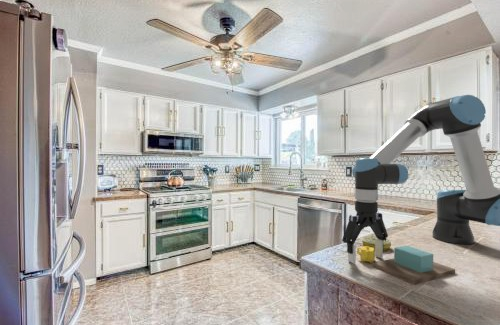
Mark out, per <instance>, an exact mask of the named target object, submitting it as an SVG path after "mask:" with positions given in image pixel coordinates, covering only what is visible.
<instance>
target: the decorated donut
mask: <svg viewBox="0 0 500 325" xmlns="http://www.w3.org/2000/svg"><path fill="white" fill-rule="evenodd" d="M376 238H377V237H376V235H375V236H373V235H372V236H364V237H362V239H361V242H362V245H363V246H369V247H372V248H374V251H375V239H376ZM377 239H378V238H377ZM391 246H392V242H391V240H389V239H387V238H386V241H385V240H383V251H388V250H389V249H390V248H391Z"/></svg>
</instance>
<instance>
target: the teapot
mask: <svg viewBox="0 0 500 325" xmlns="http://www.w3.org/2000/svg"><path fill="white" fill-rule="evenodd" d="M356 254H358V256H359V257H360V261H361V262H368V263H369V264H373V263H374V262H375V259H376V258H375V257H376V256H375V250H374V248H372V247H369V246H364V245H363V246H362V247H357V248H356Z"/></svg>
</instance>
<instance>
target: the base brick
mask: <svg viewBox="0 0 500 325" xmlns="http://www.w3.org/2000/svg"><path fill="white" fill-rule="evenodd" d="M393 251H394V254H393V255H394V257H393V258H394V262H395V263H397V264H400V265H402V266H405V267H407V268H410V269H412V270H415V271H417V272H420V273H423V272H426V271H430V270H433V262H434V253H431V252H428V251H425V250H422V249H418V248H415V247H412V246H409V245H402V246H397V247H394V250H393Z"/></svg>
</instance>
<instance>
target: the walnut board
mask: <svg viewBox="0 0 500 325" xmlns="http://www.w3.org/2000/svg"><path fill="white" fill-rule="evenodd" d="M372 264H373V265H372V266H373V267H375V268H376V269H379V270H381V271H383V272H385V273H387V274H390V275H393V276H394V277H397V278H398V279H401V280H402V281H405V282H408V283H410V284H412V285H417V284H420V283H424V282H425V283H426V282H428V281H432V280H436V279H439V278H442V277H445V276H449V275H453V274H455V273H456V269H455V268H453V267H450V266H447V265H444V264H441V263H438V262H435V261H433V270H430V271H426V272H423V273H420V272H417V271H415V270H412V269H410V268H407V267H405V266H402V265H400V264H397V263H395V262H394V257H393V258H390V259H385V260H380V261H376V262H375V261H374V262H372Z"/></svg>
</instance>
